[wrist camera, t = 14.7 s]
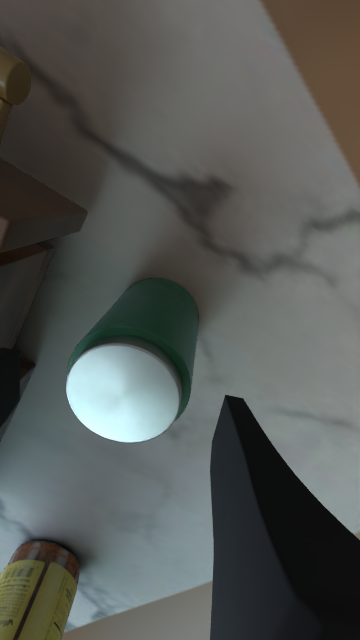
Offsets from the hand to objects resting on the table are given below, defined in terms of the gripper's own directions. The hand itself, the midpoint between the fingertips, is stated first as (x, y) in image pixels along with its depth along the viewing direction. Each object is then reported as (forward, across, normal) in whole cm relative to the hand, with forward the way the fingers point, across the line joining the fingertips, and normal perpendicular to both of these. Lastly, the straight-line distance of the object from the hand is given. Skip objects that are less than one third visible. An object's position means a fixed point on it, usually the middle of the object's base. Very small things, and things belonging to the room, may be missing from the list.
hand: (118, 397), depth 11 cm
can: (+8, 0, 0) cm, 8 cm away
